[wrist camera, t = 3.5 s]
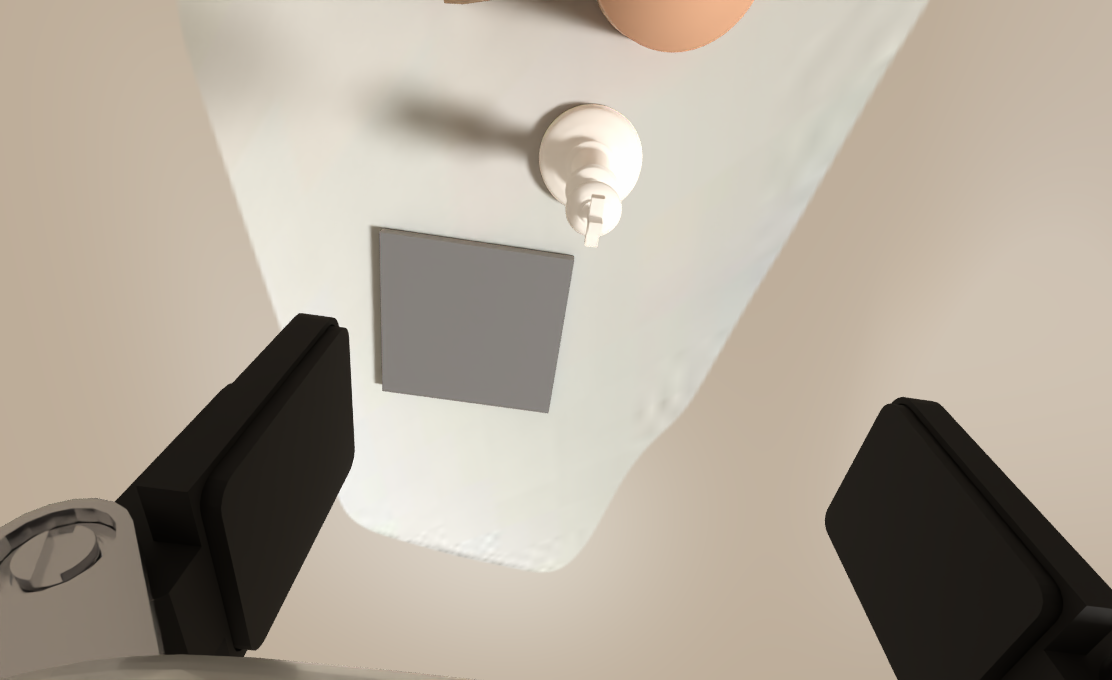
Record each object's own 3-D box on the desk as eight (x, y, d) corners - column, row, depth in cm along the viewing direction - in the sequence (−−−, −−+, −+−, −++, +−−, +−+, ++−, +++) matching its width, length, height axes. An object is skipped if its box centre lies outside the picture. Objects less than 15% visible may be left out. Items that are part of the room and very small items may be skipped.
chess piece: (534, 202, 28) (514, 287, 20) (544, 97, 26) (526, 141, 17) (631, 215, 28) (653, 305, 20) (651, 111, 26) (687, 162, 17)
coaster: (382, 227, 29) (379, 232, 29) (574, 255, 30) (574, 260, 29) (385, 385, 34) (382, 390, 34) (548, 407, 35) (548, 413, 34)
